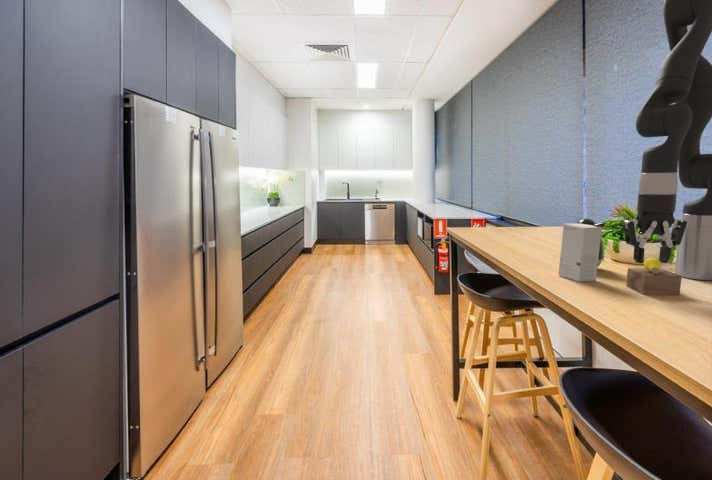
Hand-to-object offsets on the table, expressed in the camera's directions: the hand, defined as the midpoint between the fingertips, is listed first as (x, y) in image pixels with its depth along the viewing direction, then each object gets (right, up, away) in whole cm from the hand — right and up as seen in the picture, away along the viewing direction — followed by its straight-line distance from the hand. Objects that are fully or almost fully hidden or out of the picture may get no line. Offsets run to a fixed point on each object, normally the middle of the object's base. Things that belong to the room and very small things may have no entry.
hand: (651, 262), depth 106 cm
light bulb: (0, -3, -1) cm, 3 cm away
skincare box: (-11, -5, +14) cm, 18 cm away
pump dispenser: (-2, -3, +27) cm, 27 cm away
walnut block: (0, -7, +1) cm, 7 cm away
